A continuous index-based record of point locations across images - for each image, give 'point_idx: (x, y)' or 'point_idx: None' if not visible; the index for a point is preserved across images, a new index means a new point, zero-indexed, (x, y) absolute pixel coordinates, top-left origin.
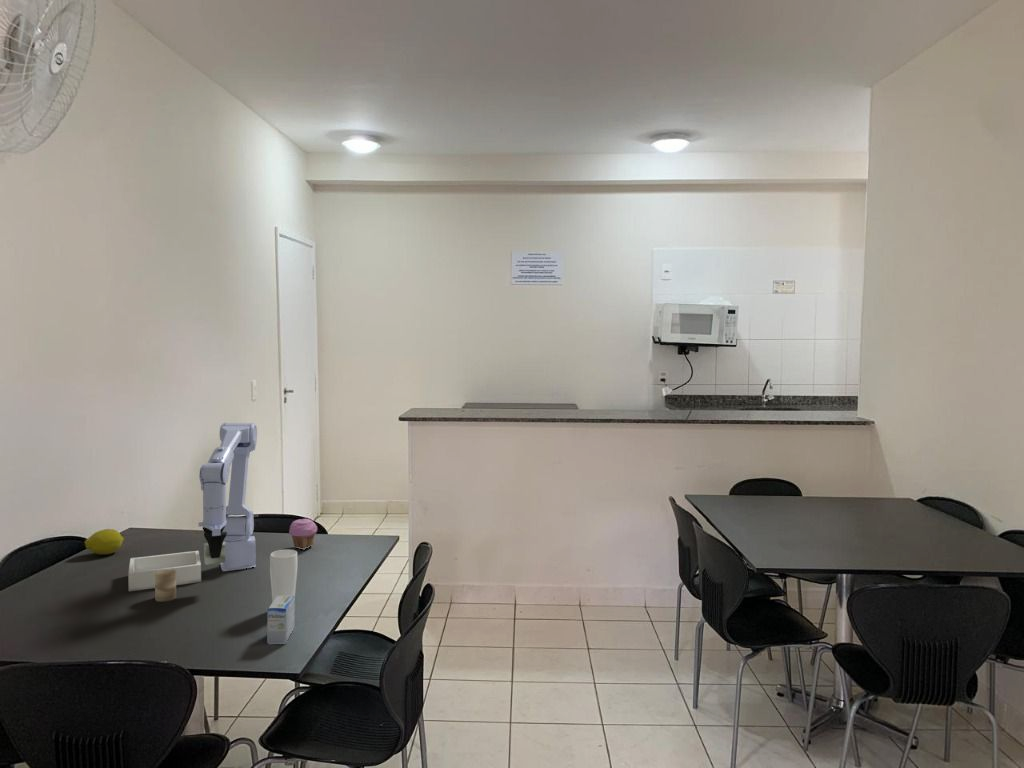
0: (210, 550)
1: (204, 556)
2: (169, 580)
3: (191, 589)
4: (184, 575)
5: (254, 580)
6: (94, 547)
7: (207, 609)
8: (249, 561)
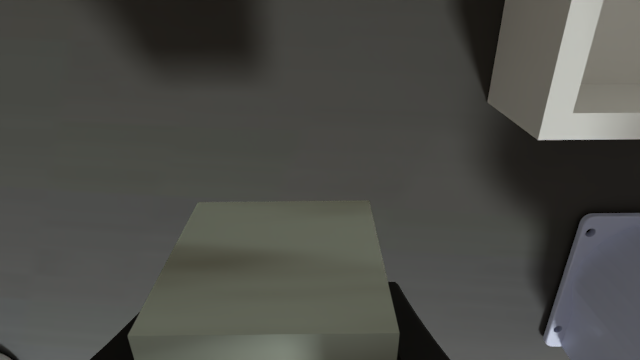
0: (111, 347)
1: (299, 228)
2: None
3: (383, 44)
4: (530, 8)
5: None
6: None
7: (33, 116)
8: (579, 344)
